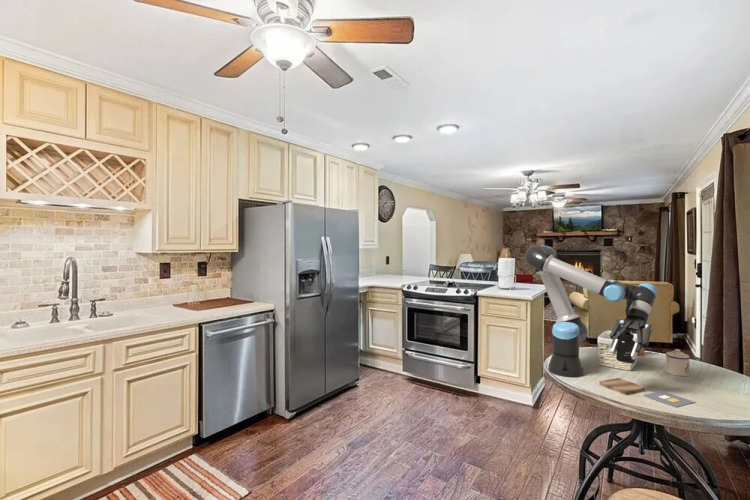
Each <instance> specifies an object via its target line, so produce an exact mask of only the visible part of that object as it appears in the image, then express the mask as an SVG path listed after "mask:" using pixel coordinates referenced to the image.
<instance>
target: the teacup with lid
mask: <svg viewBox="0 0 750 500" xmlns="http://www.w3.org/2000/svg"><path fill="white" fill-rule="evenodd" d="M665 357H666V358H665V361H666V362H665V370H666V371H665V372H666V373H668V374H669V375H674V376H677V377H688V376H690V359H691V357H690V355H688V354H686V353H684V352H682V351H681V349H678V348H675V349H674V350H672V351H667V352H666V353H665Z"/></svg>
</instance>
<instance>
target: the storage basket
mask: <svg viewBox="0 0 750 500" xmlns="http://www.w3.org/2000/svg"><path fill="white" fill-rule="evenodd" d="M611 332H612V330H609V329H608V330H604V331H602V333H601V334H599V335H598V337H597V341H596V342H597V355H598V365H600V366H603V367H604V366H605V367H608V368H612V369H613V368H615V369H616V370H617V369H618V370H622V371H623V370H625V371H631V370H632V369H633V368H634V367H635V365H636V364H637V362H638V357H639V356H637V354H638V352H637V354H636V357H635V362H634V363H624V362H620V361H618V360H617V359H616V353H617V350H616V353H615V355H613V354H612V352H611V350H612V341H613V340H612V339H611V338H610V334H611ZM631 334H632V333H631ZM633 335H634V337H633V338H634V339H633V340H634V341H635V342H636V343H638V342H637V341H638V339H637V334H633Z"/></svg>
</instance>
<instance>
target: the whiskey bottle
mask: <svg viewBox="0 0 750 500" xmlns="http://www.w3.org/2000/svg"><path fill="white" fill-rule="evenodd" d="M631 304H632V301H629V300H626V307H625V315H623V316H620V317H618V318H617V319H619V320H625V319H626V317H627V314H628V311H629V309H630V306H631ZM624 325H625V324H623V325H622V326H621V327H620V329H619V331H620V330H621V329H622V328H623V326H624ZM619 331H618V332H619ZM643 332H644V328H643V329H641V337H642V342H643V341H644V333H643ZM627 333H632V334H637V332H636V331H633V330H630V331H629V332H627ZM637 356H638V357H644V356H645V348H644V346H642V348H641V351H640V352H639V353H638V354H637Z"/></svg>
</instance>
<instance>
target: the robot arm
mask: <svg viewBox="0 0 750 500" xmlns="http://www.w3.org/2000/svg"><path fill="white" fill-rule="evenodd" d="M523 258H524V261H525V263H526V264H527V265H528V266H529V267H530V268H533V270H534V271H535V273H536V274H537V275H540V276H539V277H540V279H541V281H542V283H543V286H544V288H545V290H546V293H547V296H548V298H549V300H550V303H551V306H552V308H553V310H554V313H555V315H556V321H555V323H554V324H553V325H552V329H551V332H552V333H551V334H552V337H551V339H552V340H551V341H552V349H551V350H552V351H551V353H552V355H551V358H550V360H549V363H548V372H550V373H552V374H555V375H558V376H561V377H568V378H569V377H570V378H579V377H582V376H583V375H584V368H583V367H582V362H581V360H580V345H581V344H583V343H584V342H585V341H586V340H587V337H588V334H589V331H588V328H587V326H586V324H585V323H584V322H582V320H581V317H580V315H579V314H576V313H575V311H574V308H573V307H572V303H571V301H570V299H569V297H568V294H567V291H566V289H565V287H564V284H563V282H562V279H563V280H565V281H568V282H570V283H573V284H574V285H576V286H579V287H582V288H584V289H586V290H589V292H593V293H595V294H597V295H598V296H599V295H600V296H601V297H603V298H605V299H606V301H608V302H612V303H618V302H620V301H622V300H626V301H627V300H629V301H632V304H631V306H630V309H629V311H628V314H627V317H626V319H625V320H619V319H618V318H617V319H616V323H615V324H614V327H613V329H612V330H611V331H612V332H611V334H610V338H611V339H612V340H613V341H612V350H611V352H612V354H613V355H615V353H616V350H617V340H618V339H619V338H621V337H620V333H621V332H626V333H627V332H629V331H630V330H633V331H636V332H637V339H638V341H637V342H638V343H635V345H634V348H633V351H632V353H631V357H632V359H635V357H636V354H637V352H638V353H639V352H640V351H641V348H642V346H643V347H647V348H648V347H649V344H650V337H651V333H652V332H653V330H654V328H653V325H652V324H647V322H648V320H649V319H648V318H649V316H650V313H651V311H652V309H653V305H654V303H655V301H656V298H657V297H656V296H657V294H658V288H657V287H656V286H655V285H653V284H651V283H649V282H648V283H647V282H643V283H639V285H633V284H629V283H626V282H622V281H619V280H613V279H608V280H607V279H606V278H603V277H600V276H598V275H595V274H593V273H591V272H588V271H586V270H584V269H582V268H579V267H576V266H574V265H572V264H570V263H567V262H565V261H562V260H560V259H559V258H557V253H556V251H555V250H554V249H553V248H552V247H551V246H548V245H533V246H530V247H528V248H527V249H526V251H525V253H524V257H523ZM623 324H625V325H624V326H623V328H622V329H621V330H620V331H619V329H620V327H621V326H622V325H623ZM644 328H645V333H644V335H643V342H642V337H641V329H643V330H644ZM618 331H619V332H618Z"/></svg>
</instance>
